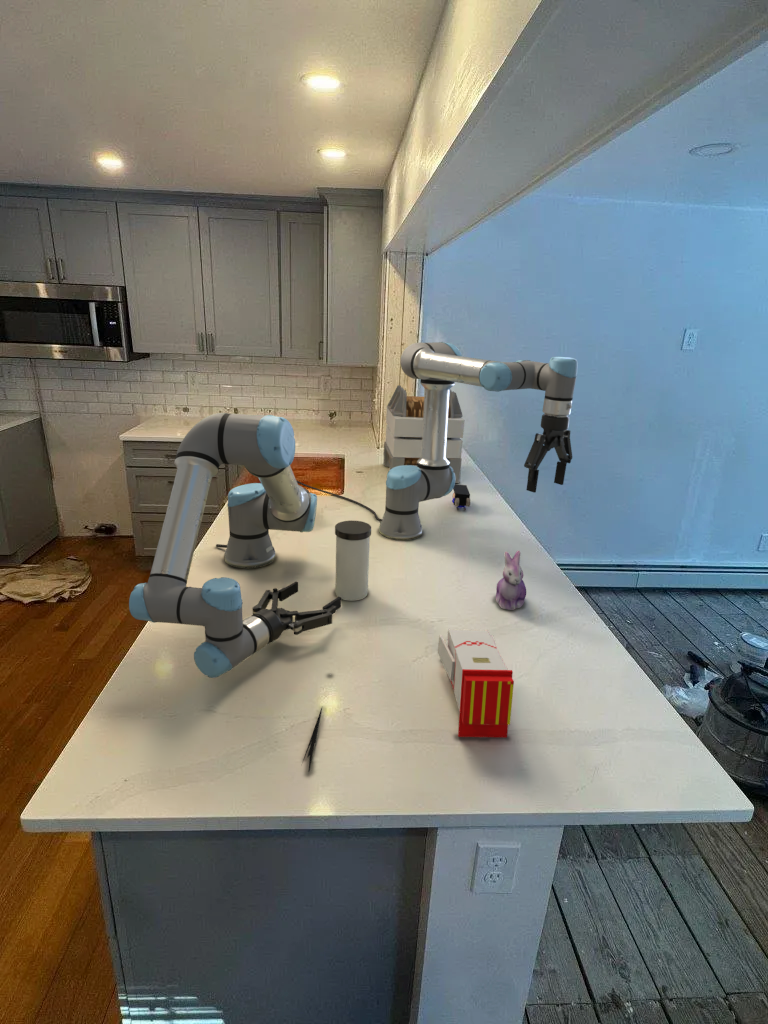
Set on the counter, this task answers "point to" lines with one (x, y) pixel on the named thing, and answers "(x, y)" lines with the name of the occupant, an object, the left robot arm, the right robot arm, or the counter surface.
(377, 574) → the counter surface
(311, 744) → the feather
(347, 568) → the jar
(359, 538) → the lid
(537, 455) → the right robot arm
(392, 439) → the light grey slatted crate
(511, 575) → the figurine
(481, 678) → the toy
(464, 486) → the figurine character
